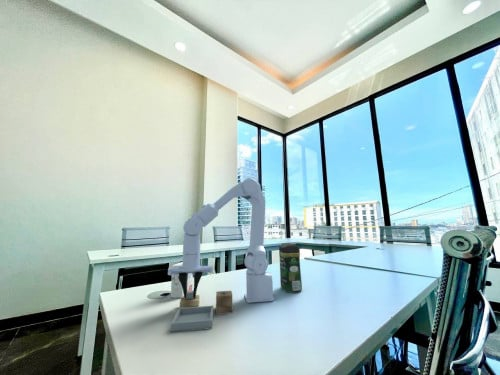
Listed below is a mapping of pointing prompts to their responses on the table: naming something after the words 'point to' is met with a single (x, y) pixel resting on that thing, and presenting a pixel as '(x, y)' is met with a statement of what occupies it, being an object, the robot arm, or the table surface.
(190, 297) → the gray metal block
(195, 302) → the wooden square frame
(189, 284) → the ink cartridge box
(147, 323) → the table surface
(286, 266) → the coffee jar
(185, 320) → the tray
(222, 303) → the walnut block
